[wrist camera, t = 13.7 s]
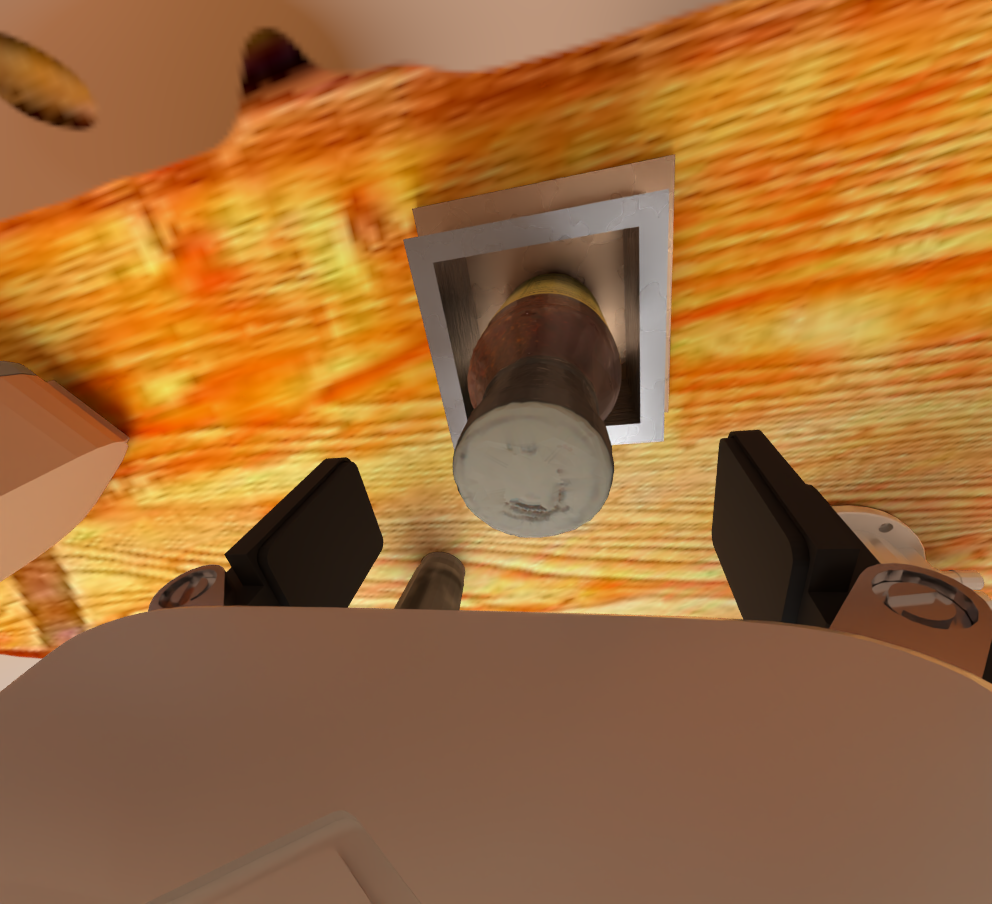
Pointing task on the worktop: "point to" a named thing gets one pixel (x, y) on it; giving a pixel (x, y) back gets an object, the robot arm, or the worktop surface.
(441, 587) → the beverage cup
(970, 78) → the worktop surface
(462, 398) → the grey square open box
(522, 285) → the sauce bottle
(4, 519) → the alarm clock
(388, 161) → the worktop surface
